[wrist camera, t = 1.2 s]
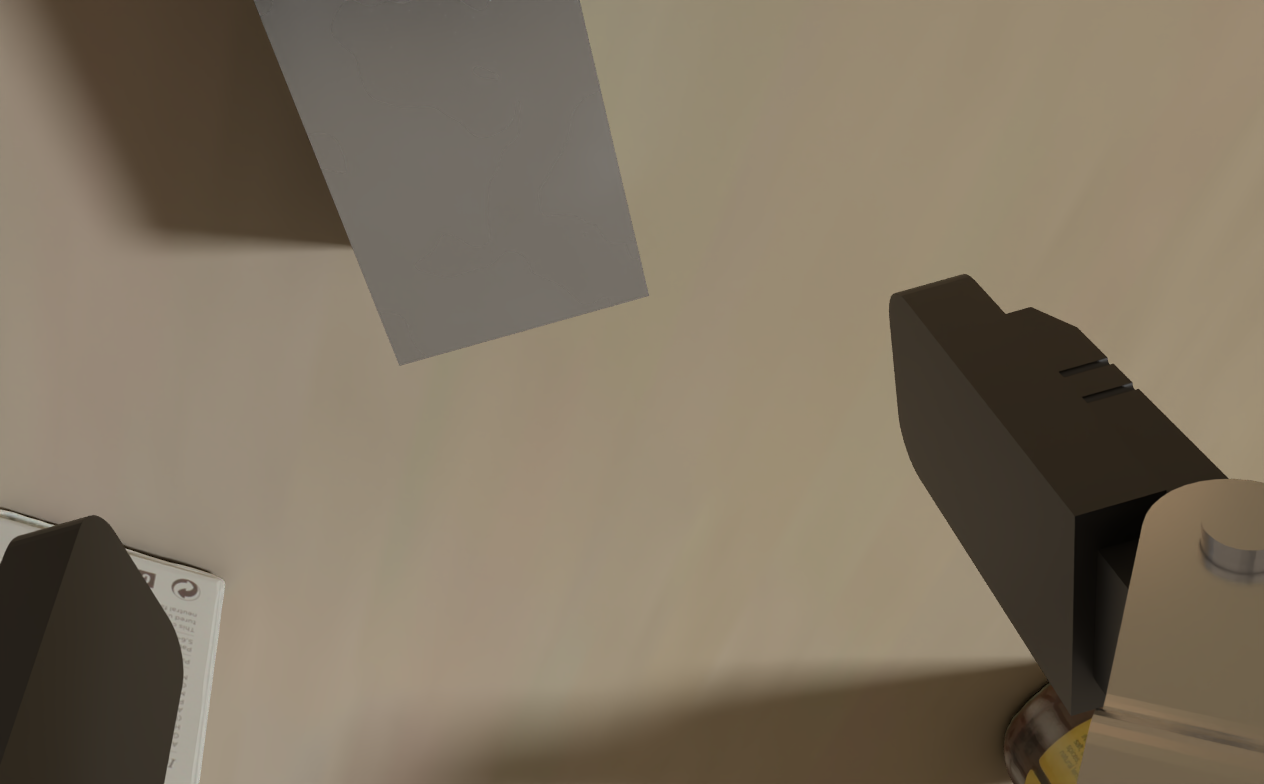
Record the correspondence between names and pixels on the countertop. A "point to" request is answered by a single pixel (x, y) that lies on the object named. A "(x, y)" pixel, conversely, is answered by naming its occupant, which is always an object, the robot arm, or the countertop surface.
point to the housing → (463, 161)
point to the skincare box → (196, 622)
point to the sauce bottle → (1046, 741)
